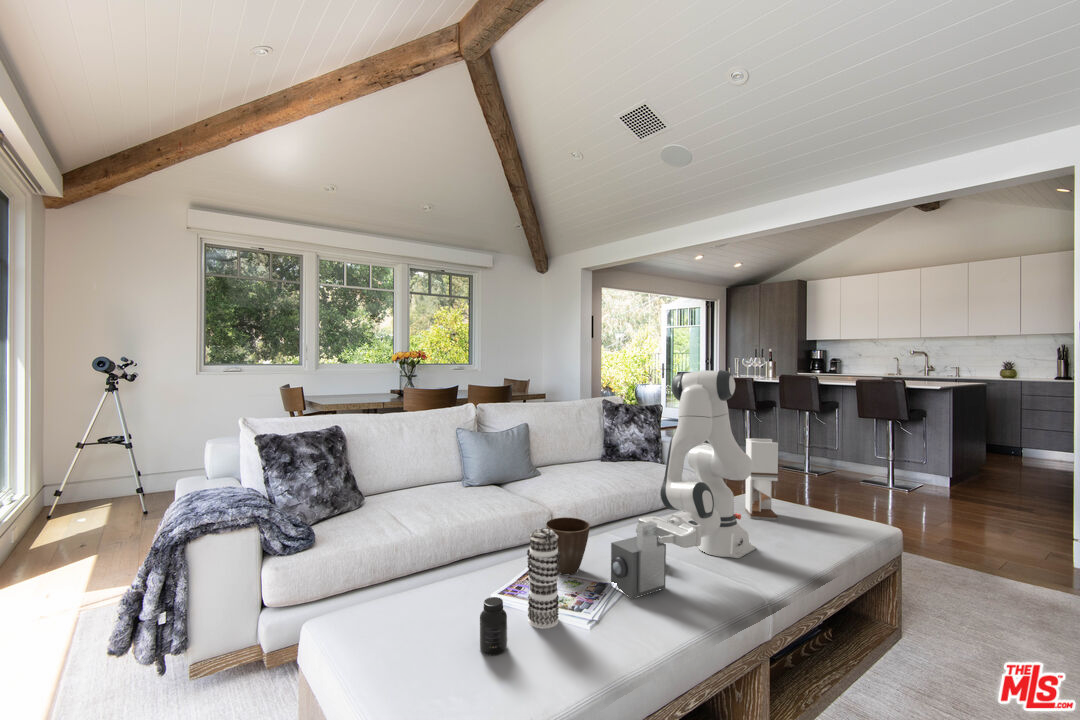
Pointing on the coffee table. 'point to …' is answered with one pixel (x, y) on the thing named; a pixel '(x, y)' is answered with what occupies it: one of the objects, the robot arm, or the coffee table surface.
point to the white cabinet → (761, 478)
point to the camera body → (629, 566)
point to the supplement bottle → (493, 627)
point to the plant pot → (570, 542)
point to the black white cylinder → (543, 578)
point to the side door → (649, 557)
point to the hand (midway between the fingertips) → (648, 535)
